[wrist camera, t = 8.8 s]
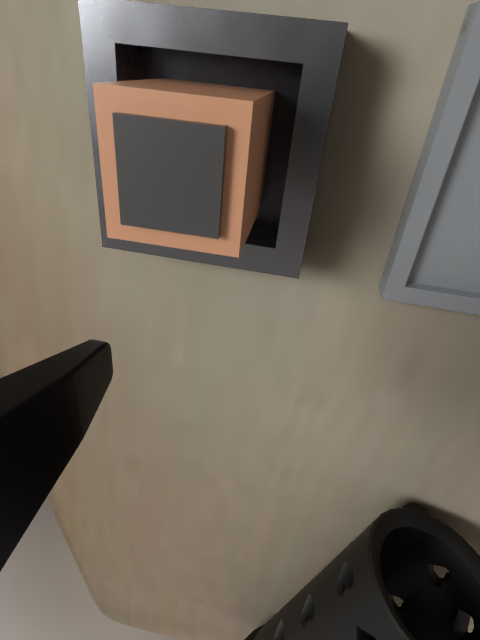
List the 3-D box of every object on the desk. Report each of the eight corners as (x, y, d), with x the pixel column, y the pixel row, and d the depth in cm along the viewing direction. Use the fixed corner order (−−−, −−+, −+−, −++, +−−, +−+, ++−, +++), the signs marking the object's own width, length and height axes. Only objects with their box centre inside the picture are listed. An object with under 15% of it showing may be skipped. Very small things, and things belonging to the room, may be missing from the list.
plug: (275, 90, 16) (251, 102, 10) (261, 205, 18) (236, 261, 13) (164, 78, 16) (87, 83, 11) (165, 191, 19) (103, 240, 13)
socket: (344, 29, 15) (348, 22, 13) (301, 255, 20) (298, 278, 17) (110, 5, 16) (77, -5, 13) (125, 228, 20) (102, 246, 18)
